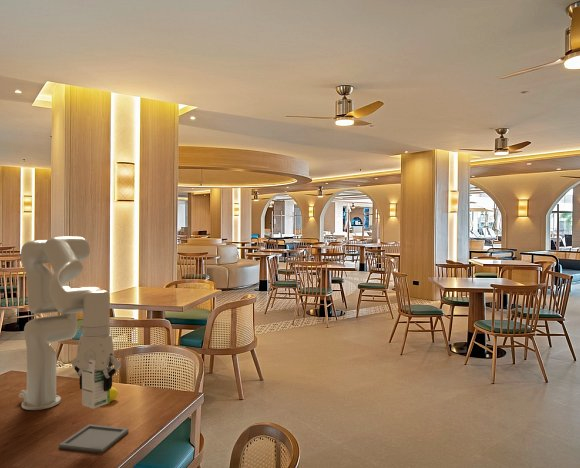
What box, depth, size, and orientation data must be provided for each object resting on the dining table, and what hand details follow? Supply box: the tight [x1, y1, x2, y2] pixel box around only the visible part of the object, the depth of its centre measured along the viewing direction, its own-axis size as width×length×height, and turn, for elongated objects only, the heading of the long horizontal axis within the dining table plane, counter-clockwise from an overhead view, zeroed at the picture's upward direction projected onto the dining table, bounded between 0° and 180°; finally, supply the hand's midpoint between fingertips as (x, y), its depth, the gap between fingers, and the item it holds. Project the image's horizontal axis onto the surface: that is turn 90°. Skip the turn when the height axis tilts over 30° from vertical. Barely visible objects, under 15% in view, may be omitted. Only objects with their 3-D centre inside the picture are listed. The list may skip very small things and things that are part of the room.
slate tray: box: [58, 423, 129, 454], centre depth 138 cm, size 14×14×1 cm
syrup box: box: [81, 359, 111, 410], centre depth 138 cm, size 6×6×14 cm
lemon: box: [110, 386, 119, 403], centre depth 169 cm, size 7×5×5 cm
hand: (95, 388), depth 138 cm, fingers closed on syrup box, 7 cm apart
